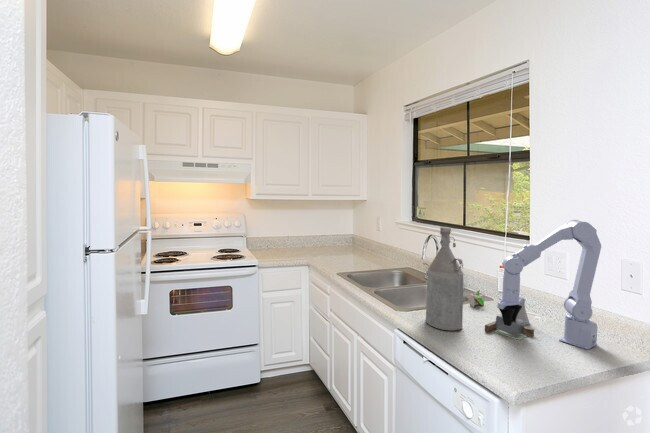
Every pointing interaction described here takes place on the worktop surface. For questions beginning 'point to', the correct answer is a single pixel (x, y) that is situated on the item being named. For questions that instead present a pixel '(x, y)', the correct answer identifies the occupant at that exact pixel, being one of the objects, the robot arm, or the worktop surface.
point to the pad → (510, 335)
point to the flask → (523, 313)
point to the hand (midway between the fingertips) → (509, 324)
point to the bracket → (513, 329)
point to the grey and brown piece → (491, 327)
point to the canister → (445, 287)
